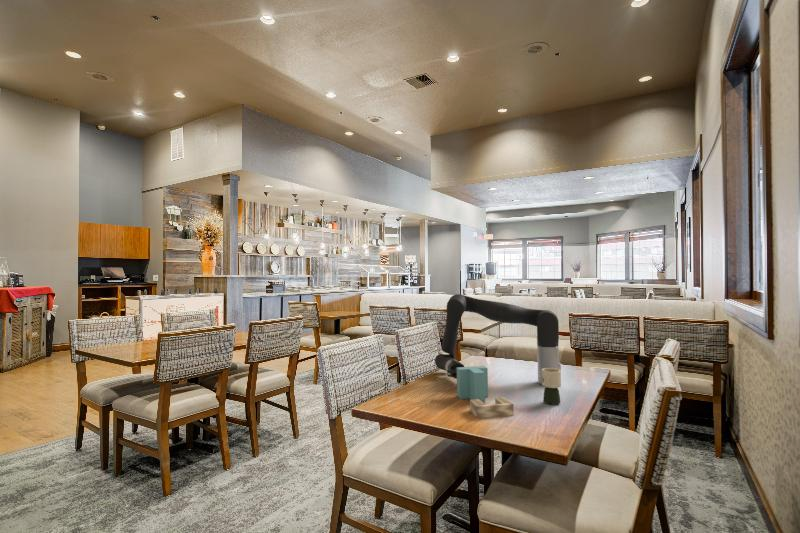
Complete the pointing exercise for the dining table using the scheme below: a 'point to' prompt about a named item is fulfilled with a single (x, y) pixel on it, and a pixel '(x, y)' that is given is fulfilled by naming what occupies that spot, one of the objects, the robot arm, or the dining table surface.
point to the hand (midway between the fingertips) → (466, 377)
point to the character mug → (551, 385)
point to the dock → (492, 408)
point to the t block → (472, 382)
